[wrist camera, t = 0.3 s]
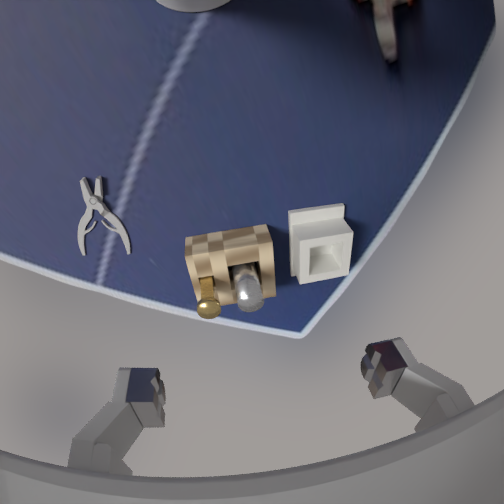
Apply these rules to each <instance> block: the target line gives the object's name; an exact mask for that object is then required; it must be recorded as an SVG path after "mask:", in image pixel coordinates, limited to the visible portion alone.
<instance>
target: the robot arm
mask: <svg viewBox="0 0 504 504" xmlns="http://www.w3.org/2000/svg"><path fill="white" fill-rule="evenodd" d="M156 1H157V2H158V3H160V4H161V5H163V6H165V7H167V8H170V9H173V10H177V11H182V12H201V11H207V10H211V9H214V8H217V7H219V6H221V5H224V4H225V3H227V2H229V1H230V0H156ZM365 352H366V355H365V356H364V357H363V358H362V361H361V372H362V375H363V377H364V379H365V380H367V381H368V382H369V386H368V388H369V390H370V392H371V394H372V396H373V398H374V399H376V398H380V397H384V396H388V395H392V397H394V398H395V399H396V400H398V401H399V402H400V403H401V404H403V405H404V406H405V407H407V408H408V409H409V410H410V411H412V412H413V413H414V414H416V415H417V416H418V417H420V418H421V420H420V421H419V422H418V424H417V425H416V426H415V431H416V433H414V434H411V435H408V436H406V437H403V438H401V439H398V440H395V441H392V442H389V443H386V444H383V445H380V446H377V447H374V448H371V449H367V450H364V451H361V452H357V453H354V454H350V455H346V456H342V457H339V458H334V459H331V460H326V461H322V462H317V463H313V464H308V465H303V466H298V467H292V468H286V469H280V470H273V471H267V472H259V473H250V474H240V475H229V476H214V477H190V478H189V477H185V478H184V477H183V478H182V477H181V478H180V477H172V478H171V477H144V476H132V470H131V469H130V468H129V467H128V466H127V465H126V464H125V463H124V461H123V460H122V459H123V457H124V456H125V454H126V453H127V452H128V450H129V449H130V447H131V445H132V444H133V443H134V442H135V440H136V439H137V437H138V436H139V434H140V433H141V432H142V430H143V428H145V427H164V424H165V423H164V422H165V412H164V409H163V406H164V404H165V399H166V397H165V388H164V384H163V381H162V380H161V379H160V372H159V369H158V368H119V370H118V372H117V377H116V382H115V387H114V392H113V398H112V402H108V403H107V404H106V405H105V406H104V407H103V408H102V409H101V410H100V411H99V412H98V413H97V414H96V415H95V416H94V417H93V418H92V419H91V420H90V421H89V422H88V424H86V426H84V428H83V429H82V430H81V431H80V432H79V433H78V434H77V435H76V436H75V437H74V438H73V439H72V444H71V450H70V455H69V460H68V466H67V467H64V466H59V465H54V464H50V463H45V462H40V461H37V460H33V459H29V458H25V457H22V456H18V455H15V454H12V453H9V452H5V451H2V450H0V504H504V390H502V391H500V392H499V393H497V394H495V395H494V396H492V397H490V398H488V399H486V400H485V401H483V402H481V403H479V404H477V405H474V403H473V402H472V400H471V399H470V397H469V395H468V394H467V393H466V391H465V389H464V388H463V386H462V385H460V384H459V383H457V382H455V381H453V380H451V379H450V378H448V377H446V376H444V375H442V374H441V373H438V372H437V371H435V370H433V369H431V368H430V367H428V366H426V365H424V364H422V363H418V362H417V360H416V359H415V357H414V356H413V354H412V353H411V351H410V350H409V348H408V347H407V345H406V343H405V342H404V340H403V339H402V338H400V337H398V338H394V339H390V340H384V341H380V342H375V343H371V344H368V345H367V346H366V349H365Z"/></svg>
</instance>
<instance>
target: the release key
mask: <svg viewBox="0 0 504 504" xmlns="http://www.w3.org/2000/svg"><path fill="white" fill-rule="evenodd" d="M200 287H201V300H200V301H199V302H198V304H197V312H198V315H199V316H200V317H202V318H205V319H212V318H215V317H217V316H218V315H219V314H220V313H221V307H220V302H219V301H218V300H217V299H216V298H215V291H214V280H213V275H212V276H206V277H200Z"/></svg>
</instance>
